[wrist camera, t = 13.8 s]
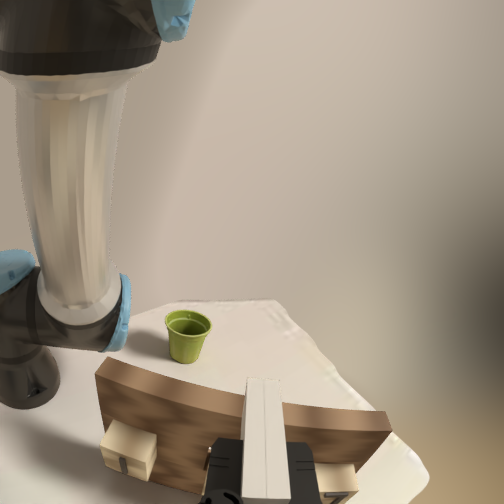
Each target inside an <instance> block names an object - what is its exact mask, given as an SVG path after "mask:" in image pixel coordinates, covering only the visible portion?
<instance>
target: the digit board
mask: <svg viewBox="0 0 504 504" xmlns="http://www.w3.org/2000/svg"><path fill="white" fill-rule="evenodd" d="M95 379H96V386H97V393H98V399H99V404H100V410H101V415H102V420H103V425H104V430H105V435H104V437H103V439H102V441H101V443H100V449H101V452H102V455H103V459H104V462H105V465H106V466H107V467H109V468H111V469H114V470H116V471H119V472H122V473H123V474H126V475H129V476H132V477H135V478H138V479H141V480H144V481H147V482H148V480H149V481H152V482H155V483H158V484H162V485H165V486H169V487H172V488H176V489H180V490H184V491H188V492H192V493H196V494H201V495H202V491H203V486H204V481H205V476H206V471H207V467H208V462H209V457H210V452H211V450H210V449H209V447H212V445H213V444H214V442H215V441H216V440H217V439H218V437H220V438H228V439H238V440H240V438H241V422H242V412H243V405H244V399H245V396H244V395H239V394H234V393H230V392H225V391H221V390H216V389H212V388H208V387H204V386H200V385H196V384H192V383H188V382H185V381H181V380H178V379H174V378H171V377H167V376H164V375H161V374H157V373H154V372H151V371H148V370H145V369H142V368H139V367H136V366H133V365H130V364H127V363H124V362H121V361H119V360H116V359H113V358H111V357H107V358H106V359H105V361H104V362H103V363H102V365H101V366H100V367H99V369H98V370H97V371H96V373H95ZM282 409H283V419H284V429H285V440H286V442H306V443H307V445H308V446H309V447H310V449H311V450H312V453H313V458H314V464H315V471H316V475H317V481H318V487H319V493H320V498H321V501H322V503H323V504H344V503H346V502H347V501H348V500H349V499H350V498H351V497H352V496H354V495H355V494H356V493H357V492H358V491H359V489H358V483H357V478H356V473H357V471H358V470H359V469H360V468H361V467H362V466H363V465H364V464H365V463H366V462H367V461H368V459H369V458H370V457H371V456H372V455H373V454H374V453H375V451H376V450H377V449H378V448H379V447H380V445H381V444H382V443H383V442H384V441H385V439H386V438H387V437H388V436H389V434H390V433H391V432H392V428H391V425H390V423H389V420H388V417H387V415H386V412H385V411H361V410H345V409H333V408H323V407H314V406H305V405H298V404H291V403H284V402H282Z"/></svg>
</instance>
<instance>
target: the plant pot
mask: <svg viewBox="0 0 504 504" xmlns="http://www.w3.org/2000/svg"><path fill="white" fill-rule="evenodd" d="M165 324H166V326H167V329H168V333H169V346H170V355H171V357H172V358H173V359H175V360H177V361H178V362H179V363H184V364H189V363H193V362H194V361H195V360H197V359H198V356H199V354H200V351H201V348H202V345H203V342H204V340H205V337H206V336H207V334H208V333H209V332H210V331H211V329H212V323H211V321H210V320H209V319H208V318H207V317H206V316H205V315H203V314H201V313H198V312H195V311H191V310H177V311H173V312H171V313H169V314H168V315H167V316H166V318H165Z"/></svg>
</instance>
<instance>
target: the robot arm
mask: <svg viewBox="0 0 504 504" xmlns="http://www.w3.org/2000/svg"><path fill="white" fill-rule="evenodd" d="M194 3H195V0H0V75H1V76H2V77H3V78H5V79H6V80H7V81H8V82H10V83H11V84H12V85H14V86H15V88H16V128H17V145H18V156H19V166H20V174H21V182H22V188H23V194H24V200H25V205H26V211H27V216H28V221H29V225H30V230H31V234H32V238H33V242H34V246H35V250H36V254H37V257H38V261H39V264H40V267H38V266H35V260H34V257H33V255H32V254H31V253H30V252H27V251H25V250H6V251H1V252H0V401H1V402H2V403H4V404H6V405H8V406H10V407H13V408H17V409H32V408H36V407H39V406H41V405H43V404H45V403H47V402H48V401H49V400H51V399H52V398H53V397H54V395H55V394H56V392H57V391H58V388H59V385H60V374H59V370H58V366H57V363H56V361H55V359H54V357H53V356H52V355H51V353H50V351H49V349H48V348H47V346H52V347H60V348H69V349H79V350H90V351H98V352H101V353H104V352H106V351H108V352H116V351H119V350H121V349H122V348H123V347H124V345H125V343H126V339H127V334H128V323H129V318H130V307H131V283H130V280H129V278H128V277H127V276H126V275H122V274H121V273H119V272H118V270H117V267H116V266H115V264H114V263H113V262H112V260H111V259H110V258H109V243H110V241H109V240H110V215H111V199H112V186H113V175H114V165H115V157H116V149H117V142H118V134H119V128H120V122H121V116H122V110H123V105H124V99H125V95H126V90H127V85H128V82H129V81H130V79H131V78H133V77H134V76H136V75H137V74H139V73H140V72H142V71H143V70H145V69H147V68H148V67H150V66H151V65H153V64H154V62H155V60H156V56H157V53H158V50H159V47H160V44H161V41H162V40H163V41H165V42H172V41H179V40H182V39H183V38H184V37H185V36H186V34H187V30H188V27H189V22H190V18H191V14H192V9H193V6H194ZM198 504H323V503H322V501H321V498H320V493H319V487H318V481H317V475H316V471H315V464H314V458H313V453H312V450H311V449H310V447H309V446H308V445H307V443H306V442H286V440H285V429H284V419H283V409H282V399H281V390H280V380H271V379H259V378H249V377H248V378H247V385H246V392H245V399H244V405H243V412H242V422H241V438H240V440H238V439H228V438H220V437H218V439H217V440H216V441H215V442H214V444H213V445H212V448H211V454H210V460H209V467H208V473H207V479H206V486H205V492H204V496H203V497H202V499H201V502H200V503H198Z"/></svg>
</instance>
